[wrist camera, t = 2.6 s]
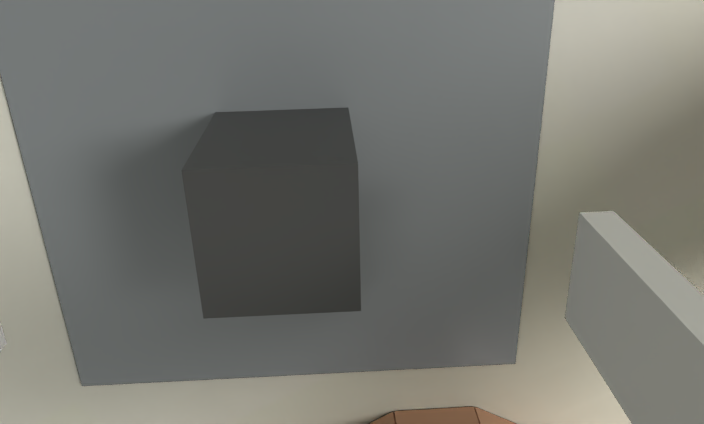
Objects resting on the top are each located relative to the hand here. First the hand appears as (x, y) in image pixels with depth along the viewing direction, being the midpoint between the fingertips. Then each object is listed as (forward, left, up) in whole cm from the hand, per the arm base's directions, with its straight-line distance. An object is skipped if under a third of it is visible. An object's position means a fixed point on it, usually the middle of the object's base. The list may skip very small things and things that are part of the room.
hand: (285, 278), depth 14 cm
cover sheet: (0, 0, -7) cm, 7 cm away
